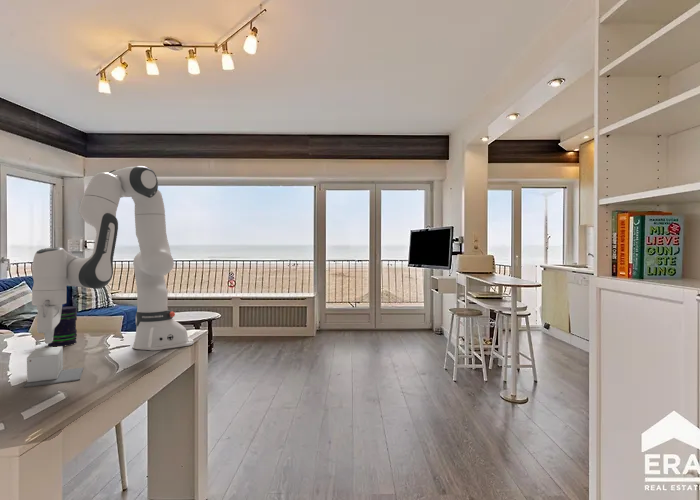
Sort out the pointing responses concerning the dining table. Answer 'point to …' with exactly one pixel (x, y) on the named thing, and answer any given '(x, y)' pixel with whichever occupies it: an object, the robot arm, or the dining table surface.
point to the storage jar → (65, 328)
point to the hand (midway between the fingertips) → (49, 342)
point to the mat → (60, 378)
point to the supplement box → (44, 364)
